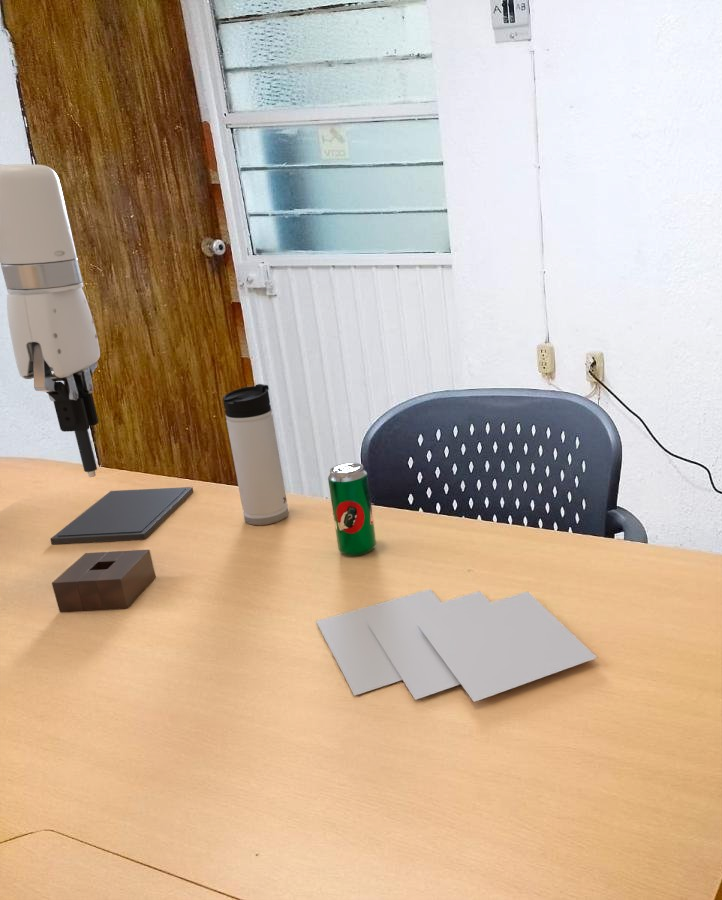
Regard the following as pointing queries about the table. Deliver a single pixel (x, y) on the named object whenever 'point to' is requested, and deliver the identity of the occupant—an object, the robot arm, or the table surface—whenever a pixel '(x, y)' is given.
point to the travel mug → (256, 455)
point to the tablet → (123, 516)
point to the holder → (104, 580)
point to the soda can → (352, 509)
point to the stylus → (86, 450)
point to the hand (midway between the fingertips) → (80, 426)
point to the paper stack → (451, 644)
